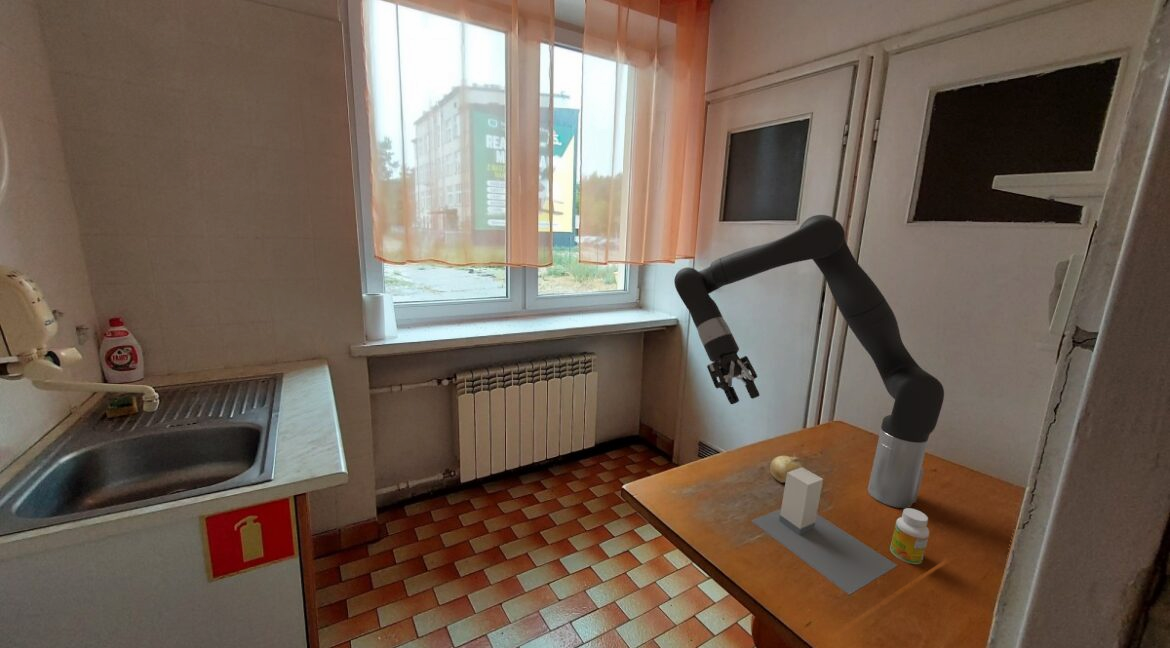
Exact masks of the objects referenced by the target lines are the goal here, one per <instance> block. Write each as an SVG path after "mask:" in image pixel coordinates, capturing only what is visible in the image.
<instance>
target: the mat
mask: <svg viewBox="0 0 1170 648" xmlns="http://www.w3.org/2000/svg"><path fill="white" fill-rule="evenodd" d="M780 513H781V508H779V509H776V510H774V511H772V512H769V513H766V514H764V515H762V516H758V517H755V518H754V519H752V520H751V519H750V522H752V523H753V524H754V525H756V526H757V527H758V528H760V529H761V530H762V531H764V532H765V533H766V534H767V535H769V536H770V537H772V539H775V540H776V541H777V542H778V543H779V544H781V545H782V546H783V547H785V548H786V549H788V550H789V551H790V552H791V553H792V554H794V555H795V556H797V557H798V558H799V559H800V560H802V562H804V563H806V564H807V565H808V566H810V567H811V568H813V570H815V571H817V572H818V573H819V574H820V575H822V576H823V577H825V578H826V579H827V580H828V581H830V582H831V583H833V584H834V585H835V586H836V587H838V588H839V589H840V590H841V591H843V592H844V593H846V594H847V595H848V596H851V595H852V594H853V593H855V592H856V591H858V590H860V589H862V588H863V587H865V586H866V585H868V584H870V583H871V582H873V581H875V580H876V579H878V578H880V577H882V576H883V575H884V574H886V573H888V572H889V571H891V570H893V569H894V568H896V567H897V566H898V564H897V563H895V562H894V561H892V560H890V559H888V558H887V557H885V556H884V555H882V554H881V553H879V552H878V551H876V550H874V549H873V548H871V547H870V546H868V545H866V544H865V543H863V542H862V541H861V540H859V539H857V538H856V537H854V536H852V535H851V534H849V533H848V532H846V531H844V530H843V529H841V528H840V527H838V526H836V525H835V524H834V523H832V522H831V521H829V520H828V519H825V518H824V517H823V516H821V515H819V514H818V513H817V515H816V521H815V526H814V529H812V530H809V531H807V532H805V533H803V534H801V535H798V534H797V533H795V532H794V531H793V530H791V529H790V528H788V527H787V526H786V525H784V524H783V523H781V522H780V521H779V519H780Z"/></svg>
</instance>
